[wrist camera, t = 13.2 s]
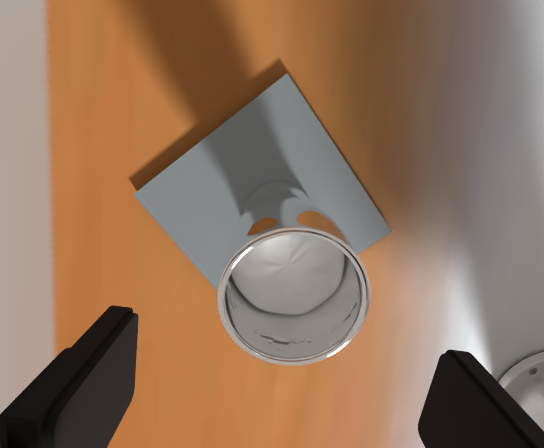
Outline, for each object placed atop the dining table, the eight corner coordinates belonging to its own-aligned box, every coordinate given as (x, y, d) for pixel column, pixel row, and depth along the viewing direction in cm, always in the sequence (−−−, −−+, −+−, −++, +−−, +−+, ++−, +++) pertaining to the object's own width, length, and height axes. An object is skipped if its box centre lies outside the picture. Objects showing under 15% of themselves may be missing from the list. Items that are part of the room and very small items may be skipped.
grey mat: (387, 228, 30) (391, 231, 29) (248, 321, 32) (248, 327, 31) (286, 75, 26) (287, 72, 25) (137, 192, 28) (132, 194, 27)
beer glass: (264, 266, 29) (265, 394, 15) (222, 202, 28) (178, 275, 13) (331, 229, 29) (402, 325, 14) (293, 160, 27) (328, 189, 13)
